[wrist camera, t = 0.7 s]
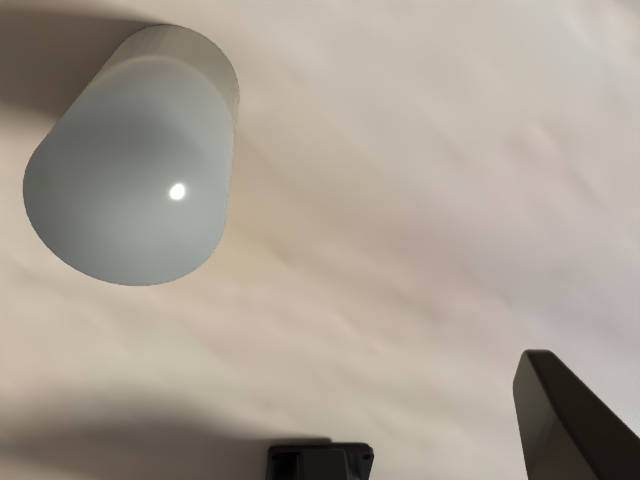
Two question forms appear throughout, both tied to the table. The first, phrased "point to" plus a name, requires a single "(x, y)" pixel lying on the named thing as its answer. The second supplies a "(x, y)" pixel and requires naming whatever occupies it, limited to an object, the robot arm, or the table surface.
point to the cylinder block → (140, 162)
